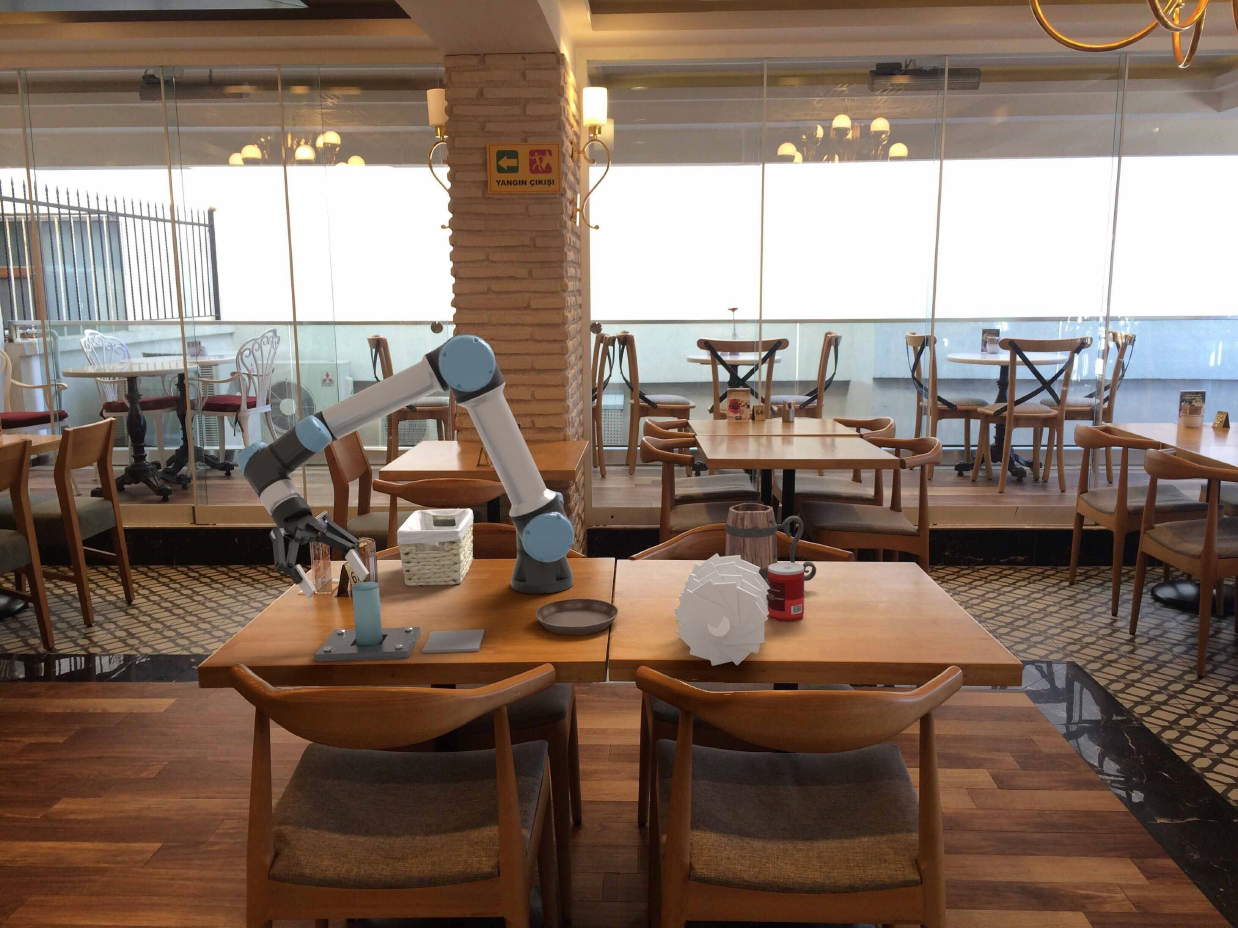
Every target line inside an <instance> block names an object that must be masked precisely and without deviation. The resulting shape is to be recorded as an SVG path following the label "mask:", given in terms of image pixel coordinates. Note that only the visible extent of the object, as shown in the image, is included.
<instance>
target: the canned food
mask: <svg viewBox="0 0 1238 928" xmlns="http://www.w3.org/2000/svg"><path fill="white" fill-rule="evenodd" d="M804 575H805V572H804V566H803V564H800V563H798V562H795V563H792V562H791V561H789V562H788V561H780V562H778V563H774V564H771V565H769V566H768V586H769V587H770V589H768V600H767V608H768V612H769V614H768V617H769V618H770V619H772V620H774V621H777V622H783V623H784V622H786V623H787V622H790V623H791V622H796V621H799V620H801V619H802V618H803V617H804V613H805V581H804Z"/></svg>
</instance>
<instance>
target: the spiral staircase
mask: <svg viewBox="0 0 1238 928" xmlns="http://www.w3.org/2000/svg"><path fill="white" fill-rule="evenodd" d="M759 570H760V568H759V567H757V566H755V565H753V564H751V563H748V562H746V561H744V560H741V557H740V555H738V556H726V557H725V556H720V555H719V554H718V553H715V554H714V555H712V556H711V557H710V558H708V559H706V560H704V562H702V563H700V564H699V563H697V562H695V563H694V566H693V568H692V571H691V573H689V575H688V579H687V580H685V581H684V585H685V587H684V589H683V591H682V592H680V595H678V598H679V599H678V600H679V605H678V607H674V608H673V610H674V614H675V617H676V620H677V623H678V624H677V625H678V627H679V629H678V630H676V632H675V634H676V635H677V636H678V637H679V638H680V639H681V641H683V642H684V643H685V644H686V645H687V646H688V647H689V648H690V651H689V655H690V656H695V657H698V658H702V659H705V660H709V661H710V664H711V666H713V667H714V666H718V665H722V664H725V663H726V664H727V663H730V662H733V663H734V664H735V665H736V666H738V665H740V664H741V663H742V661H744V660H745V659H746V658H747V657H748V656H749V655H750V654H751V653H755V654H759V650H760V646H761V644H765V642H766V641H765V622H766V621H768V617H769V612H768V600H767V598H766V595H767V594H768V592H767V590H768V589H770V587H769V586H768V585H767V583H766V582H765V581H764V579H763V578H762V577H761V575H760V574H759V573H758V572H759Z"/></svg>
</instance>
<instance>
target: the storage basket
mask: <svg viewBox="0 0 1238 928" xmlns="http://www.w3.org/2000/svg"><path fill="white" fill-rule="evenodd" d="M435 520H437V521H438V520H439V521H440V520H448V521H449V520H454V523H455V525H454V526H452V525H451V526H436V525H434V521H435ZM473 525H474V513H473V510H472V509H471V508H468V507H467V508H445V509H444V508H443V509H441V508H440V509H437V508H436V509H424V510H423V509H418V510H414V511H413V513H412V514H410V515H409V517H408V518H407V519H406V520H405V521H404V523H402V524H401V526H399V528H398V529H397V531H396V534H397V535H396V537H397V541H396V543H397V545H398V549H399V553H400V561H401V567H402V572H403V576H404V584H405V585H406V586H409V587H415V586H416V587H417V586H419V585H423V586H446V585H447V586H452V585H460V584H461V583H462V582H463V581H464V579H465V577H466V575H467V574H468V571H469V570H470V567H471V565H472V563H473V560H474V559H475V557H473V553H474V549H473V547H474V544H473V540H474V536H473V530H474V527H473Z"/></svg>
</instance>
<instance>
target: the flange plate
mask: <svg viewBox="0 0 1238 928" xmlns="http://www.w3.org/2000/svg"><path fill="white" fill-rule="evenodd" d="M421 632H422V631H421V627H420V626H407V627H405V626H404V627H382V638H383V643H382V645H367V646H356V634H355V628H351V629H349V628H348V629H345V628H341V629H334V630H333V631H331V633H330V634H329V636H328V637H327V638H326V639H325V641H324V642H323V643H322V644H321V646H320V647H319V648H318V649H317V651H316V652H315V653H314V661H319V662H342V661H344V662H345V661H365V660H366V661H369V660H397V659H399V660H401V659H402V660H403V659H409V657H410V655H411V653H412V651H413V649H414V648H415V645H416V644H417V641H418V639H419V637H420V636H421Z"/></svg>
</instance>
